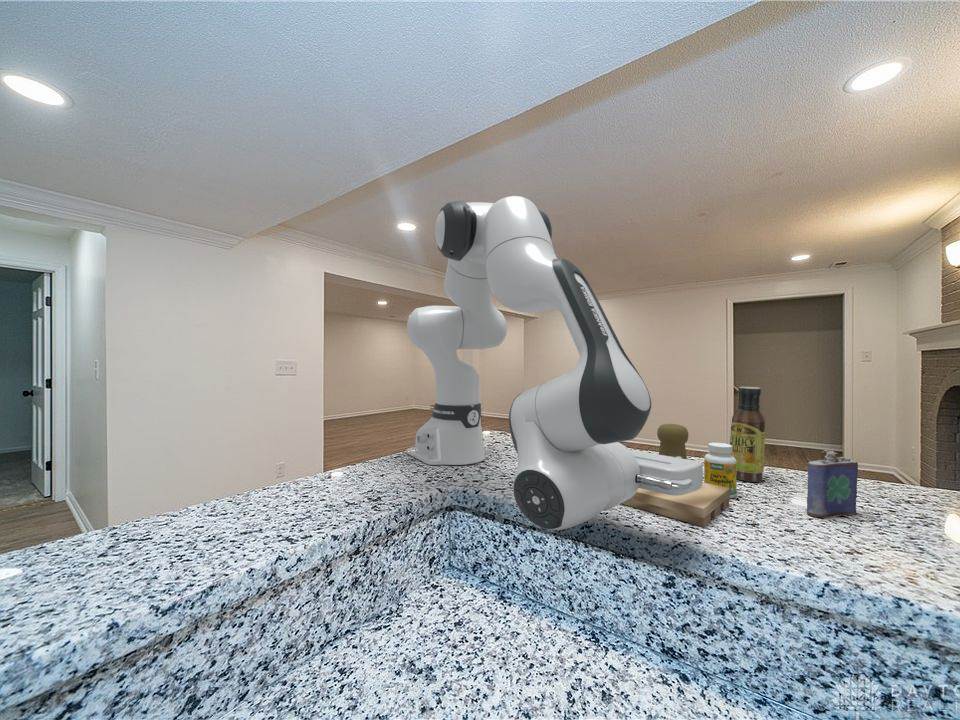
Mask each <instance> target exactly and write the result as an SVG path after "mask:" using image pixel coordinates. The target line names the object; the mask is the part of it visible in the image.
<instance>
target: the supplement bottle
mask: <svg viewBox="0 0 960 720" xmlns="http://www.w3.org/2000/svg"><path fill="white" fill-rule="evenodd" d="M707 450H708V453H706V454H705V455H704V457H703V464H704V466H703V467H704V468H703V483H707V484H712V485H717V486H722V487H727V488H730V497H729V499H734V498H735V497H736V496H737V479H736V473H737V466H736V459H735V458H734V457H733V456H731V454H732V445H730V443H729V444H728V443H723V442H709V443H708V444H707Z"/></svg>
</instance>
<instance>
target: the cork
mask: <svg viewBox="0 0 960 720" xmlns="http://www.w3.org/2000/svg"><path fill="white" fill-rule="evenodd" d="M656 432H657V433H656V434H657V439H658V440H659V442H660V443H659V448H658V449H659V451H658V455H664V456H672V455H673V456H679V457H682V459H687V460H688V457H687V449H686V448H687V447H686V443H687V442H688V439H689V430H688V428H687V427H686V426H684V425H680V424H677V423H665V424H661V425H659V427H658V428H657V431H656Z"/></svg>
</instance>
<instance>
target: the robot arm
mask: <svg viewBox="0 0 960 720" xmlns="http://www.w3.org/2000/svg"><path fill="white" fill-rule="evenodd" d="M434 226H435V227H434V235H435V236H434V237H435V241H436V244H437V248H438V251H439V253H440V254H441V255H442V256H443V257H444V258H446V259H447V260H448V261H447V265H446V273H445V277H444V281H443V282H444V283H443V287H444V292H445V294H446V296H447V297H448V299H449V300H450V301H451V302H453V304H454V305H425V306H422V307H417V308H414V309H413V311H412V312H411V313H410V314H409V316H408V319H407V323H406V332H407V335H408V337H409V338H408V339H410V341H411V342H412V344H413V345H414V346H415V347H417V348H418V349H419V350H420V351H422V352H423V353H424V354H425V356H426V357H427V358H428V359H427V360H428V361H429V362H430V364H431V366H432V369H433V373H434V377H435V379H434V380H435V394H436V397H435V398H436V401H435V402H436V403H434V404H433V405H429V407H431V408H429V409H430V411H432V412H431V413H432V414H431V418H429V420H428V421H427V422H425V423H424V424H423V425H422V426H421V427H420V428H419V429H418V430H417V431H416V434H415V440H414V441H415V444H414V445H415V446H411V447H409V448H406V451H405V453H406V452H407V453H406V454H407V455H409V456H411V457H413V458H415V459H417V460H419V461H421V462H422V463H425V464H426V465H429V466H430V465H431V466H439V465H449V466H450V465H451V466H453V465H454V466H459V465H461V466H462V465H464V466H465V465H471V464H472V465H473V464H476V463H479V462H483V461H484V460H485V459H486V458H487V457H486V448H485V447H484V440H483V439H484V438H483V429H482V423H481V417H482V403H480V375H479V372H478V370H477V369H475V367H473V366H472V365H470V364H468V363H466V362H464V361H463V360H460V359H459V357H458V353H457V351H458V350H487V349H491V348H496V347H499V346H501V344H503V342H504V341H505V339H506V336H507V334H508V324H507V320H506V317H505V315H504V314H503V313H502V312H501V311H500V310H498V308H497V307H495V305H494V304H493V301H492V296H493V298H494V299H495V300H496V301H497V302H498V303H499V304H500V305H502V306H503V307H504V308H508V309H509V310H513V311H514V312H519V313H524V314H525V313H528V314H535V313H542V312H548V311H556V310H557V311H560V313H561V315H562V317H563V320H564V322H565V325H566V327H567V328H568V331H569V333H570V335H571V338H572V340H573V343H574V345H575V348H576V350H577V351H578V352H577V353H578V355H579V359H578V362H577V364H576V366H575V367H574V368H573V369H571V370H570V371H568V372H565V373H563V374H561V375H559V376H557V377H555V378H552V379H551V380H547V381H545V382H542V383H540V384H538V385H536V386H534V387H532V388H530V389H528V390H525V391H524V392H521V393H519V394H517V395H516V396H515V398H514V399H513V400H512V403H511V406H510V410H509V412H508V413H509V414H508V427H509V433H510V436H511V440H512V444H513V446H514V449H515V452H516V453H517V469H516V471H515V475H514V477H513V482H512V491H513V497H514V500H515V503H516V505H517V507H518V509H519V510H520V512H521V513H522V514H523V516H524V517H525V518H526V519H527V520H528V521H530V522H531V523H532V524H534V525H536V526H537V527H540V528H542V529H545V530H550V531H551V530H552V531H560V530H562V531H563V530H567V529H571V528H573V527H576V526H579V525H581V524H583V523H586V522H588V521H590V520H593V519H594V518H596V517H597V516H599V515H600V514H601V513H602V512H603V511H609V510H611V509H614V508H615V507H617V506H619V505H620V504H621V503H623V502H625V501H626V500H628V499H630V498H631V497H633V496H634V495H635V493H636V492H637V490H638V488H641V489H645V490H650V491H654V492H658V493H662V494H667V495H675V496H679V495H685V494H688V493H691V492H694V491H696V490H698V489H700V488H701V487H702V483H704V468H703V465H702V464H701V463H700V462H699V461H697V460H692V459H688V458H687V459H682V457H679V456H673V455H672V456H664V455H659V453H651V452H648V451H647V452H646V451H641V450H640V451H639V450H635V449H634V450H633V449H629V448H628V447H627V446H626V445H624V444H622V443H620V442H625V441H631V440H634V439H636V438H637V436H638V435H639V434H640V433H641V431H642V429H643V428H644V426H645V425H646V422H647V421H648V418H649V416H650V412H651V409H652V399H651V395H650V392H649V390H648V388H647V385H646V383H645V382H644V380H643V378H642V376H641V375H640V374H639V371H638V370H637V368H636V367H635V366H634V363H632V361H631V359H630V358H629V356H628V355H627V354H626V352H625V351H624V349H623V347H622V344H621V342H620V341H619V339H618V337H617V334H616V333H615V331H614V329H613V326H612V324H611V323H610V321H609V318H608V317H607V314H606V313H605V311H604V309H603V307H602V305H601V303H600V302H599V299H598V298H597V297H598V296H597V295H596V293H595V291H594V290H593V288H592V287H591V284H590V283H589V282H588V280H587V278H586V276H585V275H584V274H583V272H582V271H581V270H580V269H579V268H578V267H577V265H575V264H574V263H573V262H572V261H570V260H568V259H566V258H558V257H557V255H556V253H555V249H554V246H553V242H552V238H553V230H552V229H553V228H552V223H551V220H550V218H549V216H548V214H547V213H545V212H544V211H542V210H541V209H538V208H537V205H535V203H534V202H533V201H531V200H530V199H528V198H527V197H524V196H519V195H510V196H505V197H503V198H500V199H499V200H497V201H495V202H481V201H475V202H473V201H472V202H466V201H465V200H455V201H451V202H446V203H445V205H443V206H442V207H441V208H440V210H439V213H438V215H437V218H436V222H435V225H434ZM456 305H457V306H456ZM416 449H418V450H416ZM411 450H415V451H411ZM408 451H411V452H408ZM621 505H622V504H621Z"/></svg>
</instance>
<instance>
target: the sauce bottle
mask: <svg viewBox="0 0 960 720" xmlns="http://www.w3.org/2000/svg"><path fill="white" fill-rule="evenodd" d="M761 391H762V388H761V387H758V386H738V390H737V393H738V395H739V396H738V404H737V406H738V407H737V409H736V410H735V412H734V414H733V415H732V418H731V423H730V438H729V445H732V454H731V456H733V457H734V458H735V459H736V466H737V473H736V480H740V481H743V482H750V483H760V482H762V480H763V475H764V472H765V471H764V470H765V469H764V468H765V467H764V466H765V446H766V445H765V444H766V430H765V429H766V420H765V417H764V415H763V413H761V411H760V407H761V406H760V396H761V393H762V392H761Z"/></svg>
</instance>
